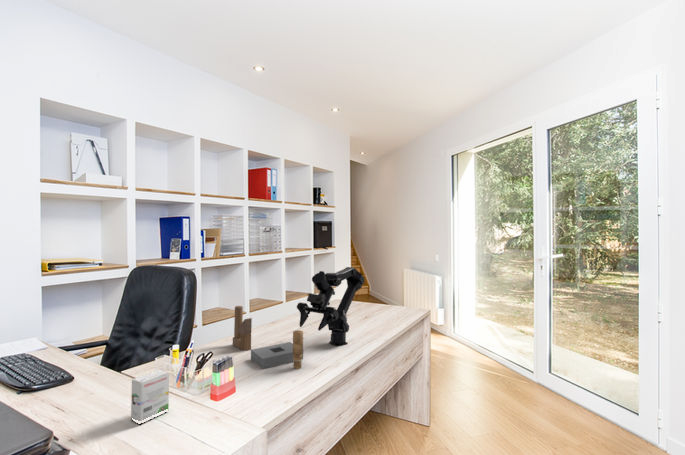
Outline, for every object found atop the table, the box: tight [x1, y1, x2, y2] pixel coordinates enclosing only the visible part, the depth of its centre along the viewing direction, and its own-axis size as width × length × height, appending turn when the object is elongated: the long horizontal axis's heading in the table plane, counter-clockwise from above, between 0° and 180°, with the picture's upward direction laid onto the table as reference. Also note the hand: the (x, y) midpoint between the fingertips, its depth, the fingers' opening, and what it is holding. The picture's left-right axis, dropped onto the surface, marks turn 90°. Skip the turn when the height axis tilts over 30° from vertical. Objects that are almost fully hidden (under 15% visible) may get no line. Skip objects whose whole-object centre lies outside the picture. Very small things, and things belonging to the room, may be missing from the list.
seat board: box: [250, 341, 304, 370], centre depth 144 cm, size 18×12×4 cm, turn 126°
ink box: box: [130, 369, 170, 421], centre depth 99 cm, size 8×5×12 cm, turn 150°
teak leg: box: [292, 329, 304, 370], centre depth 136 cm, size 4×4×14 cm
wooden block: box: [232, 305, 253, 352], centre depth 157 cm, size 4×11×18 cm, turn 45°
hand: (309, 328), depth 143 cm, fingers open, 9 cm apart
